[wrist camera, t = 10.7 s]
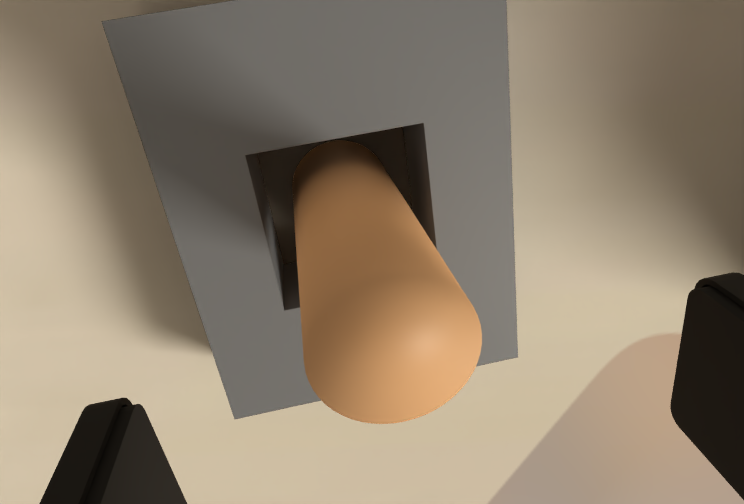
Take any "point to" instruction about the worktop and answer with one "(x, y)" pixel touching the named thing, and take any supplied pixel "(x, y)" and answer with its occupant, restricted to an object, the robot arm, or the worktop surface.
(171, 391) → the worktop surface
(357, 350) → the long pin
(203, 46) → the hole block
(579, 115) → the worktop surface
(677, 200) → the worktop surface
